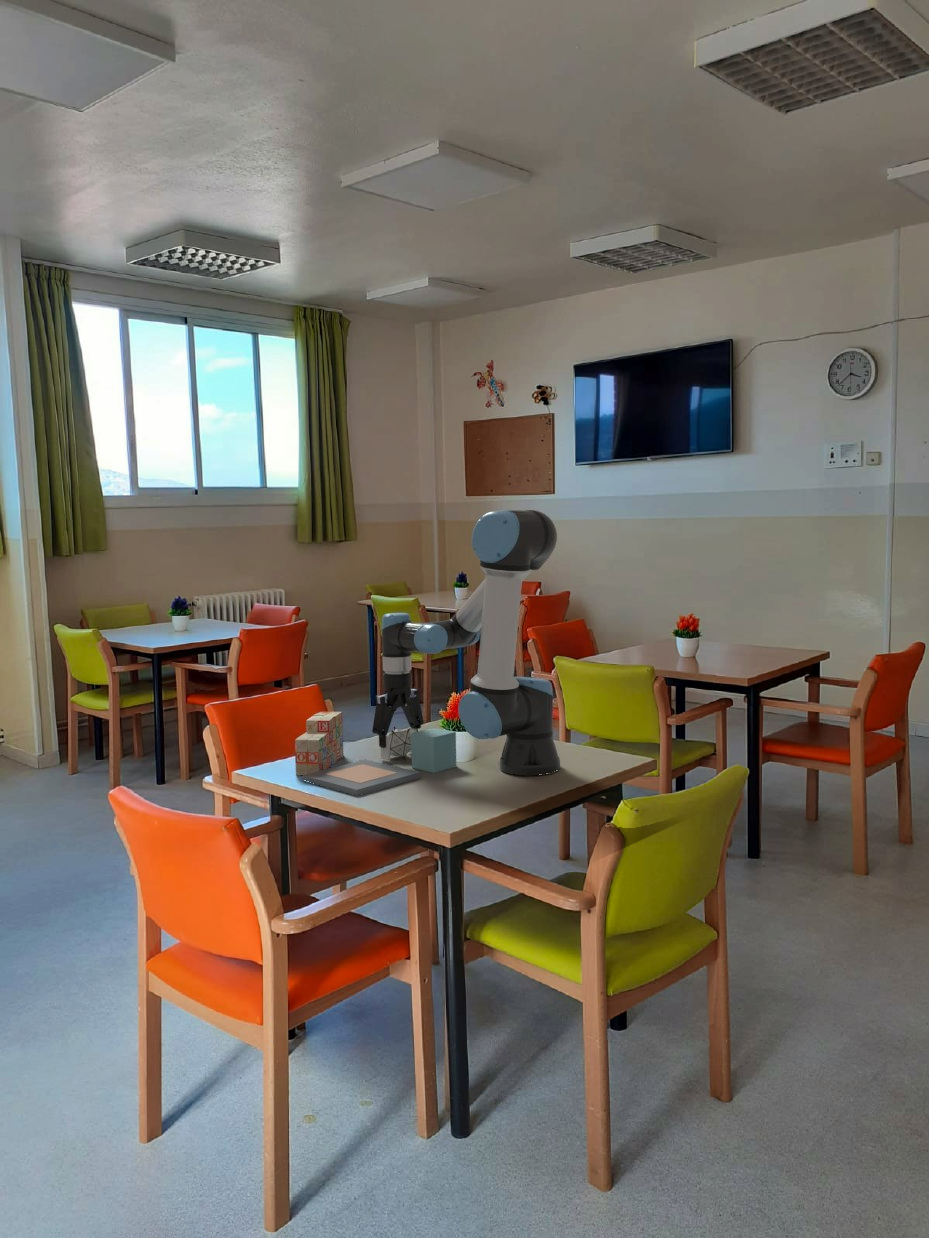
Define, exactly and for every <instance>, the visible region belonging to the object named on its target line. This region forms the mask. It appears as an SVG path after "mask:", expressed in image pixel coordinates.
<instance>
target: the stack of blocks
mask: <svg viewBox="0 0 929 1238" xmlns="http://www.w3.org/2000/svg"><path fill="white" fill-rule="evenodd" d="M305 722H306V726H305V727H306V732H304V733H303V734H301V735H299V736H298V737H297V738H296V739H295V740H294V742H295V745H294V746H295V747H294V749H295V750H294V760H295V776H300V775H306V774H310V773H314V772H318V771H322V770H326V769H330V768H332V767H331V766H333V765H334V764H336V762H338V761H339V760H340V759H342V758H341V757H342V756H343V757H344V738H343V737H344V730H343V729H344V727H343V726H344V725H343V712H342V711H319V712H317V713H315V714H312V716H311V717H309V718H307V720H305ZM329 767H330V768H329Z"/></svg>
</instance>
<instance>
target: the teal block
mask: <svg viewBox="0 0 929 1238" xmlns="http://www.w3.org/2000/svg"><path fill="white" fill-rule="evenodd" d="M411 747H412V753H411V768H412V769H417V770H419V771H420V770H421V771H424V772H425V771H426V772H429V773H434V774H435V773H438V772H442V771H445V770H449V769H453V768H456V767H457V731H453V730H447V729H441V728H437V727H432V728H428V729H427V728H426V729H423V730H418V732H414V733H411Z"/></svg>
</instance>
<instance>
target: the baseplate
mask: <svg viewBox="0 0 929 1238" xmlns="http://www.w3.org/2000/svg"><path fill="white" fill-rule="evenodd" d="M420 773H421V772H420V771H417V770H412V769H407V768H403V767H400V766H394V765H391V764H386V763H382V762H378V761H373V760H371V759H369V760H368V759H361V760H358V761H354V762H350V763H346V764H345V763H344V764H342V765H338V766H334V767H330V768H328V769H326V770H322V771H318V772H314V773H310V774H306V775H303V776H302V781H303V780H306V781H309V782H311V783H314V784H313V785H315V784H318V785H320V786H319V787H322V786H323V788H326V787H328V788H327V789H329V788H331V789H330V790H333V789H334V790H333V791H336V790H339V791H338V792H340V791H342V792H341V793H344V794H347V793H348V795H351V794H353V795H352V796H354V795H356V796H355V797H358V795H359V796H362V795H361V794H363V795H366V794H369V793H372V792H376V791H379V790H380V791H381V790H383V789H387V788H390V787H395V786H398V785H400V784H404V783H405V784H406V783H408V782H411V781H414V780H418V779H420V777H421V776H420ZM311 783H310V784H311ZM318 785H317V786H318Z"/></svg>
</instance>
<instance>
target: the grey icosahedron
mask: <svg viewBox="0 0 929 1238" xmlns="http://www.w3.org/2000/svg"><path fill="white" fill-rule="evenodd" d="M408 728H409V729H407V730H406V729H399V728H396V726H393V730H391V732H390V733H389V734H388V735H390V757H392V756H393V757H399V758H402V760H405V756H407V754H408V753H410V752H409V751H410V750H411V749H412V747H411V736H410V733H409V730H410V728H411V727H408Z"/></svg>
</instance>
